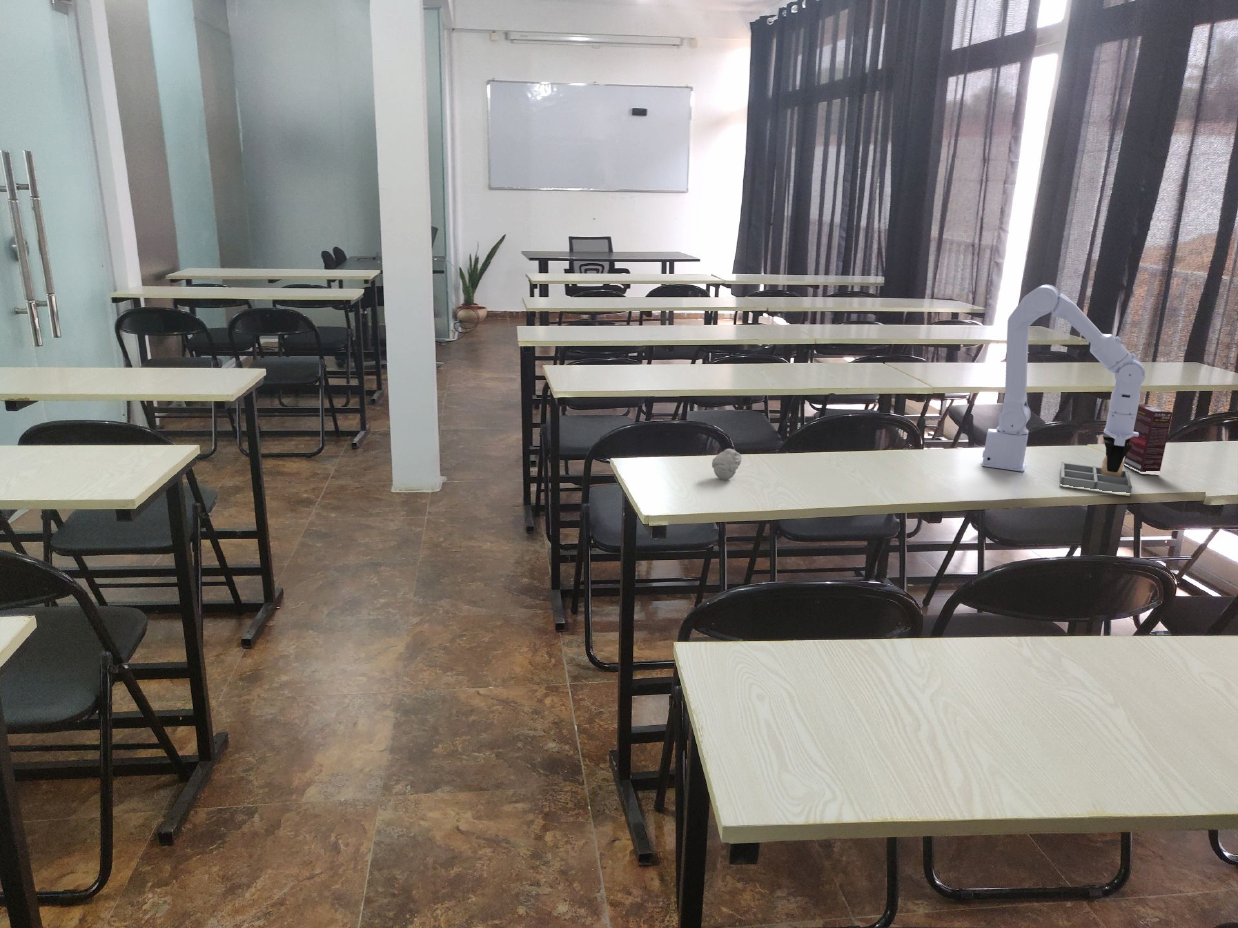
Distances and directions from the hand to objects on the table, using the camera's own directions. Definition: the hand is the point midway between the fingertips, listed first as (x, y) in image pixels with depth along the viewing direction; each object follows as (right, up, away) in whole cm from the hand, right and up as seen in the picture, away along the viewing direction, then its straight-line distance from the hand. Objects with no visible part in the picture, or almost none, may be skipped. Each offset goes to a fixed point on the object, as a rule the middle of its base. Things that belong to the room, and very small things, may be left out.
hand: (1111, 468), depth 208 cm
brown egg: (0, -1, 0) cm, 1 cm away
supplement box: (+14, -1, +11) cm, 18 cm away
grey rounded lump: (-91, -2, -6) cm, 92 cm away
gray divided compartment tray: (-5, -3, -1) cm, 6 cm away
